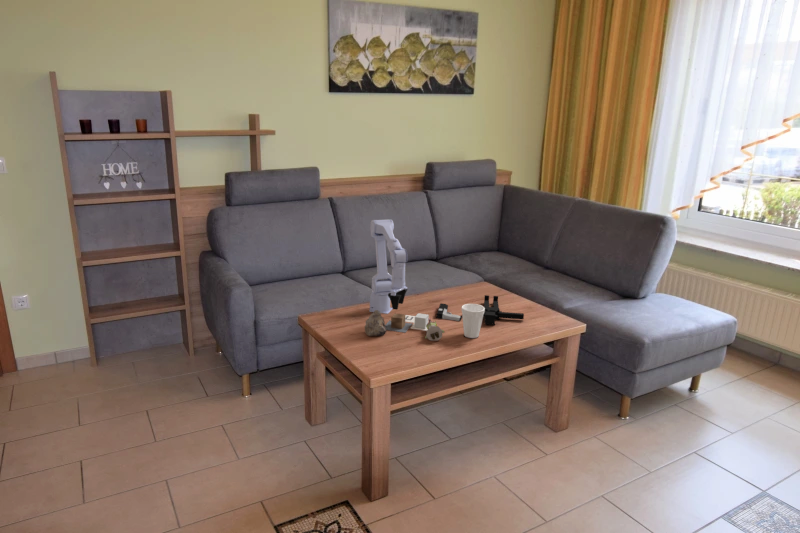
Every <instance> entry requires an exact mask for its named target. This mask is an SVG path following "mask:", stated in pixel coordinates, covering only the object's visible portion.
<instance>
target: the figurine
mask: <svg viewBox="0 0 800 533" xmlns="http://www.w3.org/2000/svg"><path fill="white" fill-rule="evenodd" d="M426 327H427V329H428V330H427V331H426V335H425V336H424V339H427V340H429V341H431V342H432V341H434V342H435V341H437V342H438V341H440V340H441V338H443V334H444V333H445V329H441V328H440V326H439V325H438V323H437V321H436V320H435V321H434V320H433V321H432V320H431V317H429V318H428V323H427V325H426Z"/></svg>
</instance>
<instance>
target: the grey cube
mask: <svg viewBox="0 0 800 533" xmlns="http://www.w3.org/2000/svg"><path fill="white" fill-rule="evenodd" d="M414 316H415V325H414V328H421V329H426V325H427V323H429V320H428V318H430V315H429V314H426V313H419V312H418V313H417V314H416V315H414Z"/></svg>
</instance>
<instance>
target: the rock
mask: <svg viewBox="0 0 800 533" xmlns="http://www.w3.org/2000/svg"><path fill="white" fill-rule="evenodd" d="M385 322H386V321H385V318H384V317H383V316H382V313H380V311H378V310H375V311H374V312H371V314H370V315H369V316H368V318H367V319H366V320H365V325H364V333H365V334H366V335H367V336H368V337H374V336H378V337H379V336H380V337H383V336H384V335H386V333H387V330H386V328H385V327H386V326H385V325H386V323H385Z"/></svg>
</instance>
